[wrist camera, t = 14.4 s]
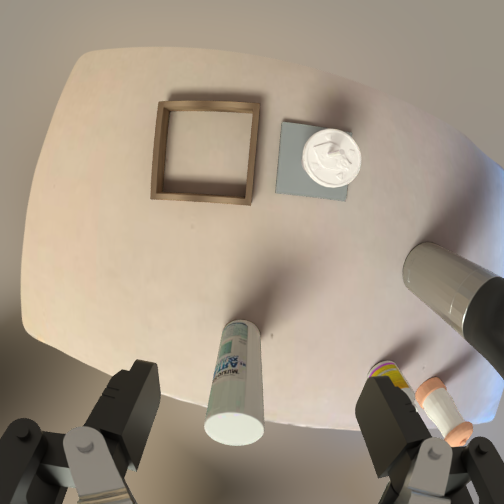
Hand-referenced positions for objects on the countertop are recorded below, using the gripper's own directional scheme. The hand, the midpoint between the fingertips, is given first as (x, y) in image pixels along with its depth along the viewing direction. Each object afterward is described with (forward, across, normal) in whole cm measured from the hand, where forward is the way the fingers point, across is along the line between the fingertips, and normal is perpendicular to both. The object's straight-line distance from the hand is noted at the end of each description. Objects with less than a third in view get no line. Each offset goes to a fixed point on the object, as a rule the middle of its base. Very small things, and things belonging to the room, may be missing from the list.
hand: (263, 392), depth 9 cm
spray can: (+32, 0, +18) cm, 36 cm away
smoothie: (+31, -7, -10) cm, 33 cm away
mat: (+32, -7, -10) cm, 34 cm away
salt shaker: (+31, -44, +32) cm, 63 cm away
